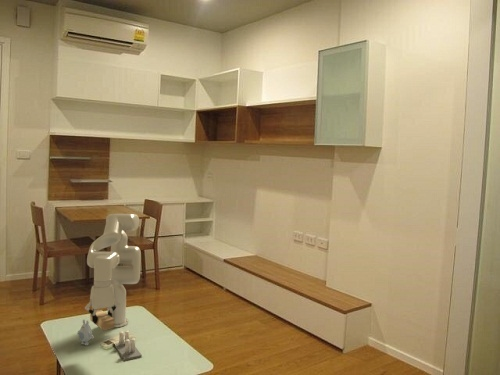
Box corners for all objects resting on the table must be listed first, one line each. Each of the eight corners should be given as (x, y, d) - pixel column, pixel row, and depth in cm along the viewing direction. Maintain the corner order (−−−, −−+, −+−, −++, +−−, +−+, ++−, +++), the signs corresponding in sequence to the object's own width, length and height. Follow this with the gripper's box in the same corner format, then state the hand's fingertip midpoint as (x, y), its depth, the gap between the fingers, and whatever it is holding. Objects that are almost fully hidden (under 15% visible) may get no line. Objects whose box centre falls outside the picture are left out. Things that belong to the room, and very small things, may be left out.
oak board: (90, 320, 203) (90, 311, 203) (100, 317, 207) (100, 309, 206) (103, 330, 193) (103, 321, 193) (114, 327, 196) (114, 318, 196)
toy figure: (72, 344, 212) (72, 319, 211) (82, 339, 217) (82, 315, 216) (88, 349, 207) (88, 324, 206) (98, 344, 212) (98, 320, 211)
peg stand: (113, 343, 214) (113, 329, 213) (129, 340, 218) (129, 326, 218) (124, 360, 197) (124, 345, 196) (141, 357, 201) (142, 342, 200)
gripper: (119, 278, 206) (119, 316, 207) (81, 283, 197) (80, 322, 198) (124, 283, 199) (123, 321, 201) (84, 287, 190) (83, 328, 192)
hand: (102, 321), depth 200 cm, fingers closed on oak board, 5 cm apart
